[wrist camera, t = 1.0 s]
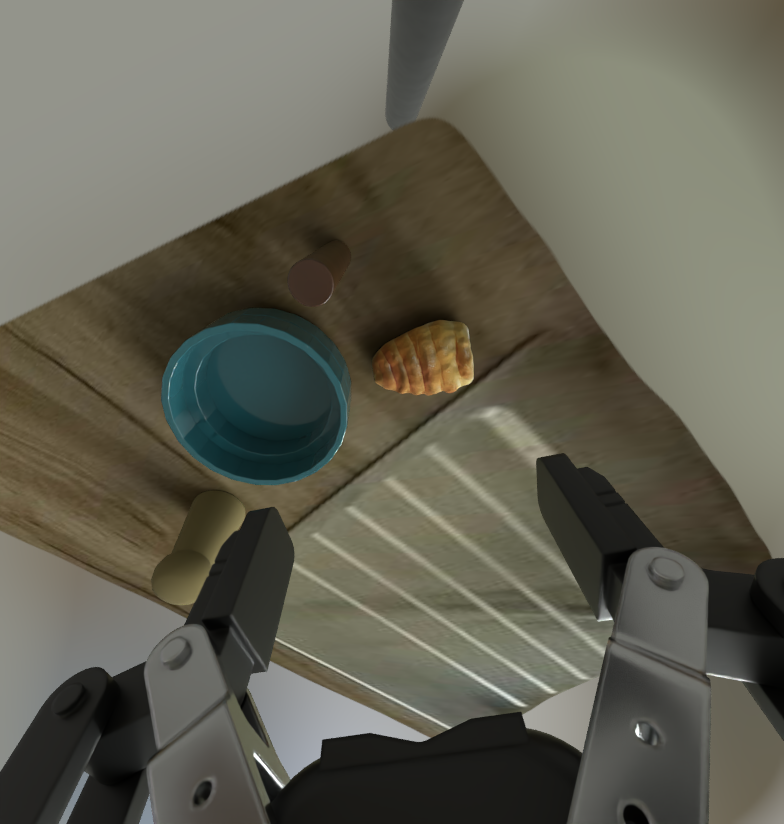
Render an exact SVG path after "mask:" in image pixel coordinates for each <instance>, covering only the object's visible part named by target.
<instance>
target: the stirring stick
mask: <svg viewBox="0 0 784 824" xmlns="http://www.w3.org/2000/svg"><path fill="white" fill-rule="evenodd" d="M350 261H351V252H350V249H349V248H348V246H347V245H346V244H345V243H343V242H341V241H337V240H334V241H331V242H329V243H327V244H326V245H324V246H322V247H321V248H319V249H318V250H316V251H314V252H313V253H311V254H310V255H308V256H306V257H305V258H303V259H301V260H300V261H298V262H297V263H295V264H294V265H293V266H292V268H291V269H290V271H289V274H288V287H289V290H290V292H291V294H292V296H293V297H294V298H295V299H296V300H297V301H298V302H299V303H301V304H303V305H306V306H310V307H316V306H320V305H322V304H324V303H326V302H327V301H328V300H329V299H330V297H331V296H332V294H333V292H334V290H335V289H336V287H337V285H338V283H339V281H340V280H341V278H342V276H343V274H344V273H345V271H346V269H347V267H348V266H349V264H350Z"/></svg>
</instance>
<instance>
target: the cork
mask: <svg viewBox="0 0 784 824" xmlns="http://www.w3.org/2000/svg"><path fill="white" fill-rule="evenodd" d="M244 518H245V509H244V506H243V504H242V503H241V502H240V501H239V500H238V498H236V497H234V496H233V495H231V494H229V493H226V492H224V491H217V490H211V491H205V492H203V493H201V494H199V495H198V496H197V497H196V498H195V499H194V501H193V503H192V505H191V508H190V510H189V513H188V515H187V517H186V520H185V522H184V524H183V527H182V529H181V532H180V534H179V536H178V539H177V541H176V544H175V546H174V548H173V551H172V553H171V554H169V555H167V556H166V557H165V558H164V559H163V560H162V561H161V562H160V563H159V564H158V565H157V566H156V568H155V570H154V573H153V576H152V579H151V583H152V590H153V591H154V593H155V594H156V595H157V596H158V597H159V598H160V599H162V600H164V601H165V602H167V603H171V604H175V605H187V604H191V603H194V602H195V601H196V599H197V597H198V595H199V593H200V590H201V588H202V586H203V584H204V582H205V580H206V578H207V577H208V576H209V571H210V569H211V567H212V565H213V564H215V558H216V556H217V554H218V552H219V550H220V548H221V546H222V545H223V543H224V542H225V541H226V540H227V539H228V538H229V537H230V535H231V534H232V533H233V532H234V531H237V530H238V529H239V527H240V526H241V524H242V522H243V520H244Z"/></svg>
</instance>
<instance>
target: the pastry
mask: <svg viewBox="0 0 784 824" xmlns="http://www.w3.org/2000/svg"><path fill="white" fill-rule="evenodd" d="M470 346H471V344H470V341H469V330H468V328H467V326H466V325H465V324H464V323H461V322H456V321H446V320H437V321H434V322H430V323H427V324H425V325H423V326H420V327H417V328H415V329H412V330H410V331H408V332H406V333H404V334H402V335H401V336H399V337H397V338H395V339H393V340H391V341H389V342H387V343H386V344H384V345H383V346H382V347H381V348H380V349H379V350H378V351H377V352H376V354H375V355H374V357H373V359H372V369H373V373H374V380H375V382H376V383H377V384H378V385H380V386H382V387H383V388H384V389H387V390H394V391H397V392H398V393H401V394H404V393H411V394H414V395H420V394H426V395H433V394H436V393H438V392H441V391H445V392H447V393H452V392H455V391H456V390H457V389H458V388H459V387H461V386H463V385H468V384H470V383H471V382H472V380H473V375H474V373H473V355H472V351H471V349H470Z"/></svg>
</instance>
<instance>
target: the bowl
mask: <svg viewBox="0 0 784 824" xmlns="http://www.w3.org/2000/svg"><path fill="white" fill-rule="evenodd" d="M161 401H162V405H163V409H164V413H165V417H166V421H167V422H168V424H169V426H170V428H171V430H172V431H173V433H174V435H175V437H176V438H177V440H178V441H179V442H180V444H181V445H182V446H183V447H184V448H185V449H186V450H187V451H188V452H189V453H190V454H191V455H192V457H193V458H195V459H196V460H198V461H199V462H201V463H202V464H203V465H205V466H206V467H208V468H209V469H210V470H212V471H214V472H217V473H219V474H221V475H223V476H226V477H228V478H230V479H233V480H236V481H241V482H245V483H250V484H255V485H279V484H284V483H290V482H295V481H298V480H300V479H303V478H305V477H307V476H309V475H311V474H314V473H315V472H317V471H318V470H319V469H320V468H322V467H323V466H324V465H325V464H327V463H328V462H329V461H330V460H331V459H332V457H333V456H334V455H335V453H336V452H337V450H338V449H339V447H340V446H341V444H342V441H343V438H344V434H345V431H346V428H347V423H348V416H349V410H350V403H351V379H350V376H349V372H348V369H347V365H346V362H345V360H344V359H343V357H342V355H341V354H340V352H339V350H338V349H337V347H336V345H335V344H334V343H333V342H332V341H331V340H330V339H329V338H328V337H327V336H326V335H325V334H324V333H323V332H322V331H321V330H320V329H319V328H318V327H316V326H315V325H313V324H311V323H310V322H308V321H306V320H305V319H303V318H301V317H300V316H297V315H295V314H291V313H288V312H285V311H281V310H278V309H274V308H247V309H243V310H239V311H234V312H230V313H228V314H226V315H224V316H223V317H221V318H219V319H218V320H216V321H214V322H212V323H211V324H209V325H208V326H206V327H205V328H203V329H202V330H200V331H199V332H197V333H196V334H194V335H193V336H191V337H190V338H188V339H187V340H186V341H184V343H183V344H182V345H181V346H180V347H179V348H178V349H177V350H176V352H175V353H174V354H173V355H172V356H171V358H170V360H169V362H168V365H167V367H166V370H165V372H164V375H163V378H162V393H161Z"/></svg>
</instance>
